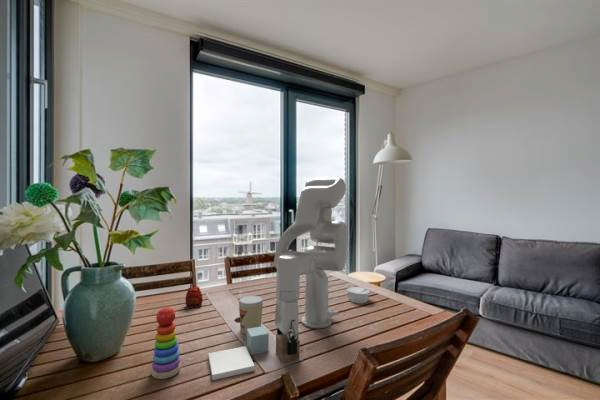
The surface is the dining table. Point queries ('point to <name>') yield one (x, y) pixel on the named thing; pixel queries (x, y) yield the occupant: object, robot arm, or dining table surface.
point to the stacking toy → (166, 346)
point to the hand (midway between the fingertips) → (286, 346)
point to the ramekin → (358, 294)
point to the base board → (230, 362)
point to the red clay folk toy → (193, 296)
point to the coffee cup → (250, 312)
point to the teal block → (257, 340)
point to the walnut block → (285, 348)
